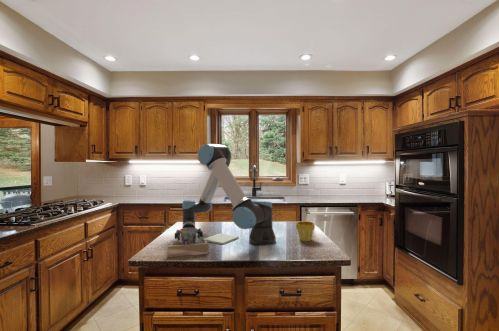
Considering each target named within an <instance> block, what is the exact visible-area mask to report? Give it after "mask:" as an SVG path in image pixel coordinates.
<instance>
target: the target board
mask: <svg viewBox="0 0 499 331" xmlns="http://www.w3.org/2000/svg"><path fill="white" fill-rule="evenodd" d="M238 239H240V238H239V236H237V235H232V234H231V235H230V234H225V233H216V234H214V235H212V236H208V237H205V238H202V242H205V241H207V243H212V244H219V245H222V246H223V245H226V244H228V243H231V242H233V241H236V240H238Z"/></svg>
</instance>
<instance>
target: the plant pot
mask: <svg viewBox="0 0 499 331" xmlns="http://www.w3.org/2000/svg"><path fill="white" fill-rule="evenodd" d="M295 227H296V228H295V229H297V234H298V239H299V241H301V242H310V241H312V239H313V238H312V237H313V232H314V230H315V222H313V221H309V220H308V221H305V220H304V221H303V220H301V221H297V222H296V223H295Z"/></svg>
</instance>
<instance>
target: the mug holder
mask: <svg viewBox="0 0 499 331" xmlns="http://www.w3.org/2000/svg"><path fill="white" fill-rule="evenodd" d="M167 248H168V251H167V252H168V253H167V254H168V258H172V257H185V256H196V255H208V254H210V242H207V241H204V243H203V242H202V243H196V244H187V245H182V244H175V245H174V243H173V242H170V245H168V246H167Z"/></svg>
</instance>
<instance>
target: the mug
mask: <svg viewBox="0 0 499 331" xmlns="http://www.w3.org/2000/svg"><path fill="white" fill-rule="evenodd" d="M198 229H199V228H197V227H195V228H192V227H190V228H182V227H181V228H180V229H178V230H179V231H180V233H181V236H182V241H181V245H187V244H197V241H196V233H197V230H198Z"/></svg>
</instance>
